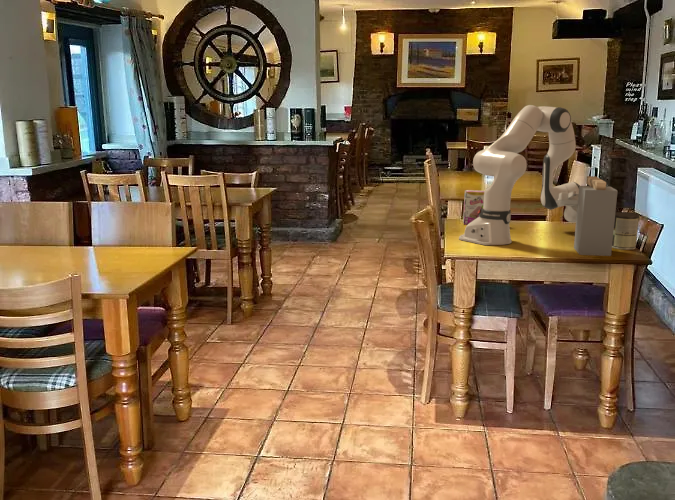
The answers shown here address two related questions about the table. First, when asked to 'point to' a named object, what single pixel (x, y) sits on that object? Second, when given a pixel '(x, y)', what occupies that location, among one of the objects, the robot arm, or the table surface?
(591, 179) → the beech bar
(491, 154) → the robot arm
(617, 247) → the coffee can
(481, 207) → the candy bar box
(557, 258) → the table surface
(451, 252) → the table surface
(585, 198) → the pedestal
